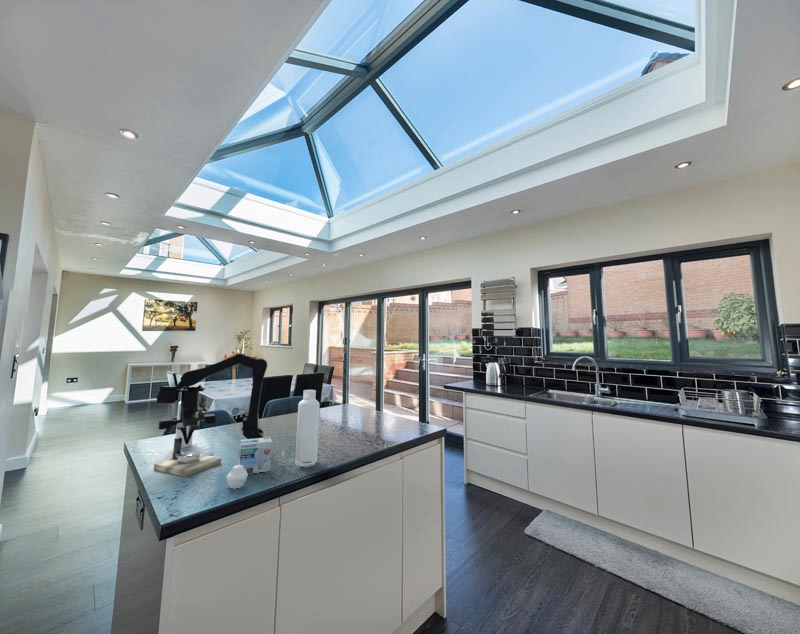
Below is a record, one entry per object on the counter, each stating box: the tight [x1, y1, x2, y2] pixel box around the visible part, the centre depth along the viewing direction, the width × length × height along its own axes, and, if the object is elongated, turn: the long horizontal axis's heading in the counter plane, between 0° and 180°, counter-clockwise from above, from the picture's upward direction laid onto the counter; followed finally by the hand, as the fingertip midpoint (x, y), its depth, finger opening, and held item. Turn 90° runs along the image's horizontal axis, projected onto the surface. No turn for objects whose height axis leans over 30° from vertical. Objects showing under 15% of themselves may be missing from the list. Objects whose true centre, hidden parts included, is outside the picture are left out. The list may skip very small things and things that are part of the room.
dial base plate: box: [153, 453, 222, 478], centre depth 121 cm, size 17×14×2 cm
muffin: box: [225, 464, 248, 489], centre depth 105 cm, size 6×6×7 cm
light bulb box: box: [238, 436, 273, 475], centre depth 119 cm, size 11×7×11 cm, turn 117°
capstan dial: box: [171, 438, 201, 464], centre depth 122 cm, size 12×7×7 cm, turn 67°
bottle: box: [294, 389, 321, 466], centre depth 127 cm, size 8×8×28 cm
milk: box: [174, 400, 193, 448], centre depth 146 cm, size 6×6×22 cm
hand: (186, 443), depth 126 cm, fingers closed
